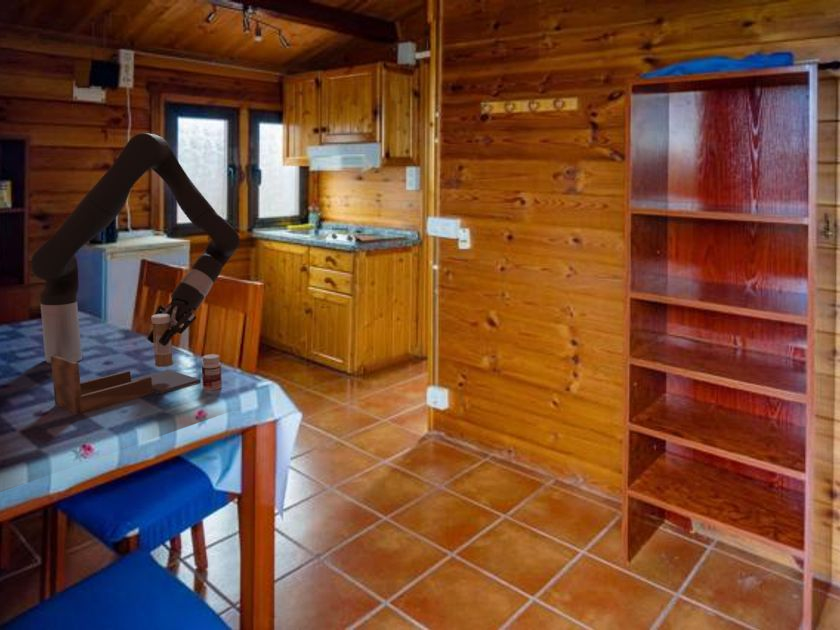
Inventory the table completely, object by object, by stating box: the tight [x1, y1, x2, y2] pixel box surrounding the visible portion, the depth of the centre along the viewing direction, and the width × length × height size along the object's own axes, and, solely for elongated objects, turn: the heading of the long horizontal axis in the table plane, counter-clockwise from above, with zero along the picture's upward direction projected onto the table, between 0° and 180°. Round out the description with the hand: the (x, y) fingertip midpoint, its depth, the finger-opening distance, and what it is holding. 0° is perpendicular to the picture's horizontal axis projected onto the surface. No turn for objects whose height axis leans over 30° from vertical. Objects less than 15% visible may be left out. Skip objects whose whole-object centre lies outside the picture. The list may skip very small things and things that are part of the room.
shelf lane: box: [50, 355, 153, 415], centre depth 162 cm, size 10×19×12 cm, turn 146°
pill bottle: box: [201, 353, 223, 391], centre depth 172 cm, size 5×5×8 cm
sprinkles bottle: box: [150, 314, 174, 368], centre depth 174 cm, size 5×5×14 cm
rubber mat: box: [131, 369, 202, 394], centre depth 176 cm, size 14×12×1 cm
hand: (156, 342), depth 172 cm, fingers closed on sprinkles bottle, 4 cm apart
